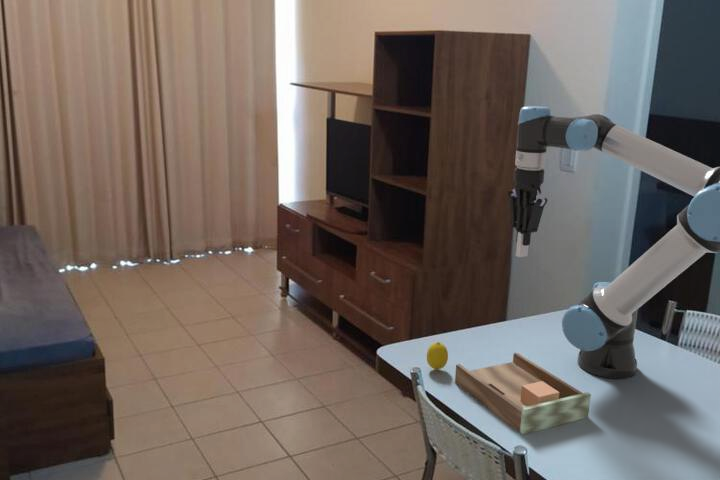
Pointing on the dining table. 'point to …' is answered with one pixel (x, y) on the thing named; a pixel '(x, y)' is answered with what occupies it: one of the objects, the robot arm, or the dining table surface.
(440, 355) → the lemon
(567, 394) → the box
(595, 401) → the dining table surface
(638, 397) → the dining table surface
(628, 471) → the dining table surface
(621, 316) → the robot arm
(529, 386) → the block
